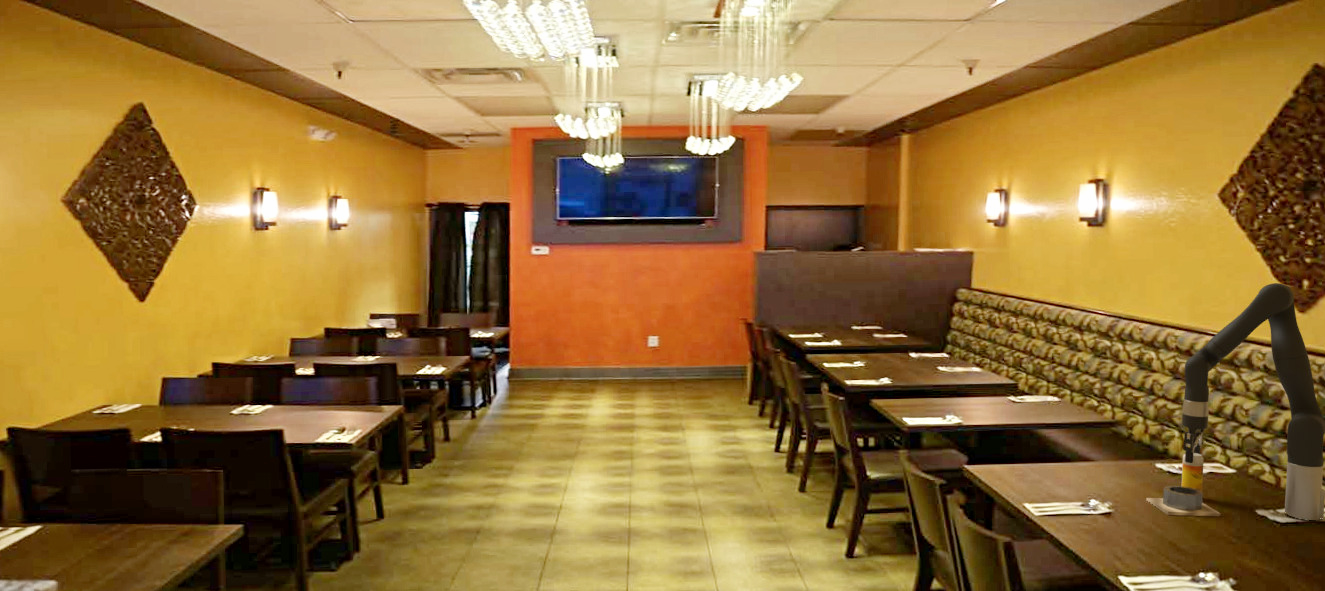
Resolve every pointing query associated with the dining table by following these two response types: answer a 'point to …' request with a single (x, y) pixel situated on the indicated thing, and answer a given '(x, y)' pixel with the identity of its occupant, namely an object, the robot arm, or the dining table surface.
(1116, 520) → the dining table surface
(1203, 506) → the birch board
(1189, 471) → the beer can
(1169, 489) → the gray faceted bowl
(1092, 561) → the dining table surface
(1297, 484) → the robot arm
